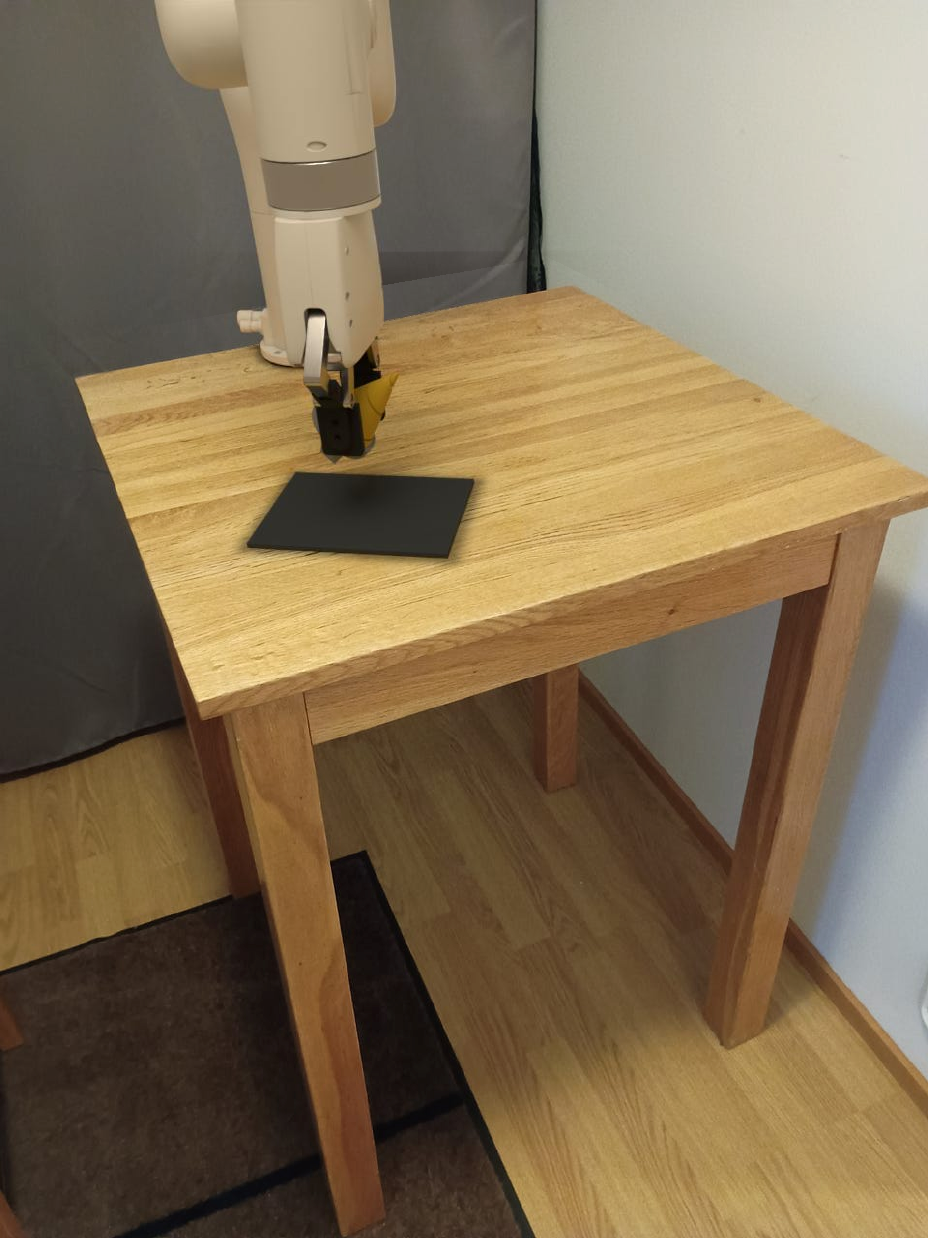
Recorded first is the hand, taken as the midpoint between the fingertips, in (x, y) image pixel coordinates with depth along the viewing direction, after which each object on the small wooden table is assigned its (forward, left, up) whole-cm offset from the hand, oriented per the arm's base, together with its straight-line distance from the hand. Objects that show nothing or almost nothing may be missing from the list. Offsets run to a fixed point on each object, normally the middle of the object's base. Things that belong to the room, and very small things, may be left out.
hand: (355, 433), depth 72 cm
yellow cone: (0, 0, -2) cm, 2 cm away
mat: (0, 0, -7) cm, 7 cm away
